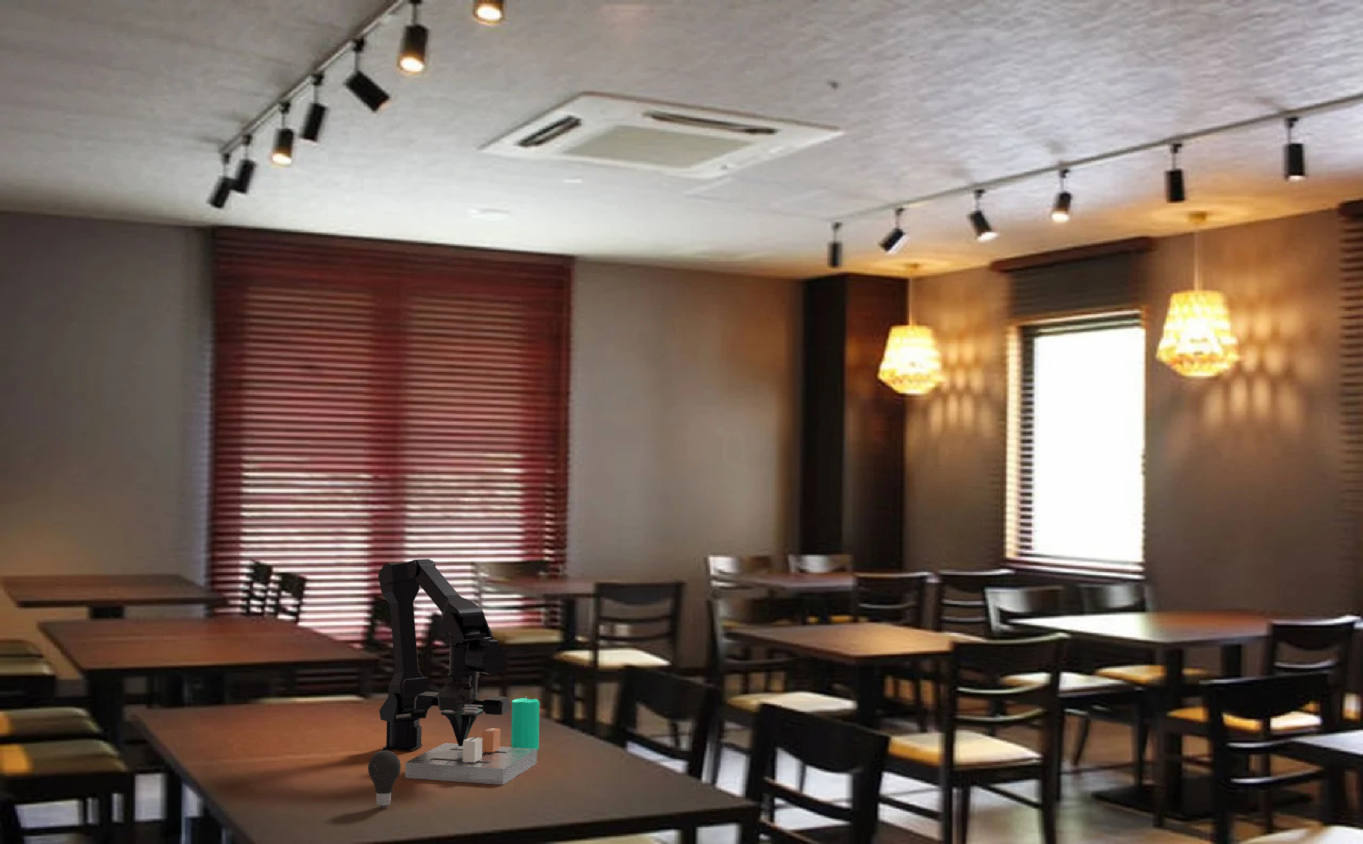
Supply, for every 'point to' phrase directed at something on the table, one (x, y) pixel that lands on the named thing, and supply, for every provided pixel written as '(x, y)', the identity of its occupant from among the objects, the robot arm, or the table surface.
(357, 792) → the table surface
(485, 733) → the fader orange
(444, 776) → the grey slider board
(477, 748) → the fader cream
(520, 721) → the candle
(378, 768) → the light bulb
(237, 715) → the table surface
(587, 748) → the table surface
